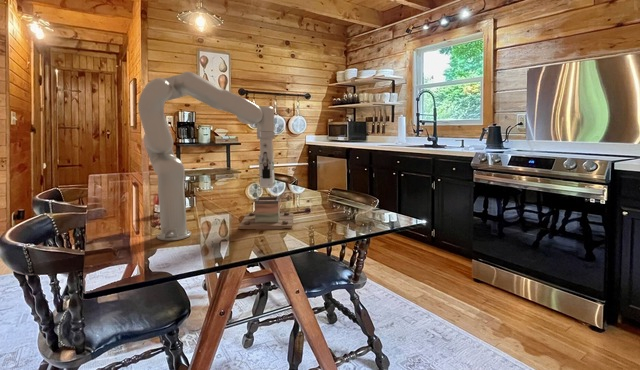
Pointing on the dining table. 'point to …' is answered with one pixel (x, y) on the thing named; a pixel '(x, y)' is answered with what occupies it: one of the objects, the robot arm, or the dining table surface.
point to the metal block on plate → (267, 215)
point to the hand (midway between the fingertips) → (267, 176)
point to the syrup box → (271, 181)
